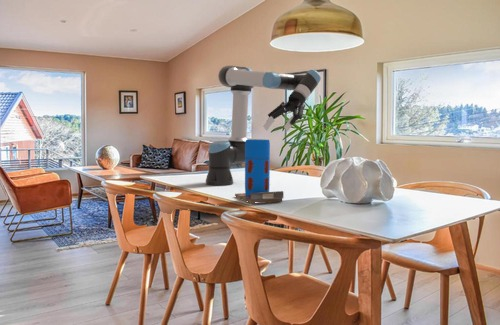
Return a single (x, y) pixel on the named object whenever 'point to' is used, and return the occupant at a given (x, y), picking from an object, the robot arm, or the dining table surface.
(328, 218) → the dining table surface
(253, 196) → the shelf board
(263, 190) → the blue tall block
